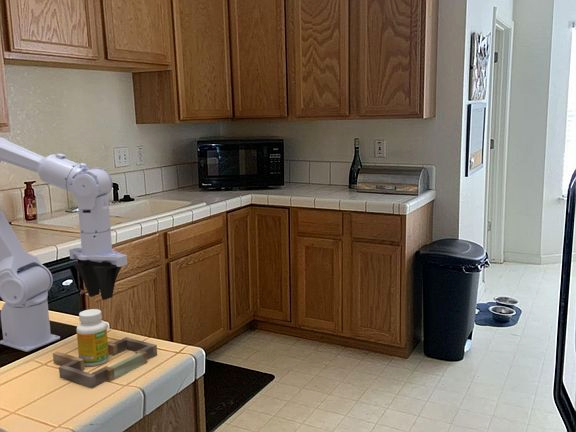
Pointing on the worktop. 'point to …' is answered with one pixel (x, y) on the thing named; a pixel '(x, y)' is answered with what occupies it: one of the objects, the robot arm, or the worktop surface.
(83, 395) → the worktop surface
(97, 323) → the supplement bottle
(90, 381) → the grey flat frame
